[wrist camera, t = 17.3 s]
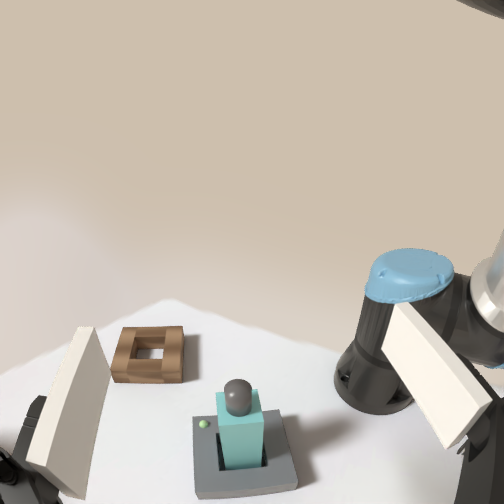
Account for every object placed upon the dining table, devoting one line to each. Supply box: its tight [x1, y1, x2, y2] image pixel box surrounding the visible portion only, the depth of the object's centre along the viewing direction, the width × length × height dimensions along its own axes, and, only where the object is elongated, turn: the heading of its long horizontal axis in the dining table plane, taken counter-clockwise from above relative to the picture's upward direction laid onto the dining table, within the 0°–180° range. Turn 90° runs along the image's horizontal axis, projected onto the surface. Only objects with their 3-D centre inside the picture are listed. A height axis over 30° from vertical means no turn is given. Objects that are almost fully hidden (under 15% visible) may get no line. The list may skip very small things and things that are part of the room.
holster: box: [110, 326, 184, 383], centre depth 50 cm, size 12×12×3 cm
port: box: [193, 409, 298, 499], centre depth 32 cm, size 12×12×4 cm
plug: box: [216, 379, 264, 471], centre depth 30 cm, size 4×4×16 cm
